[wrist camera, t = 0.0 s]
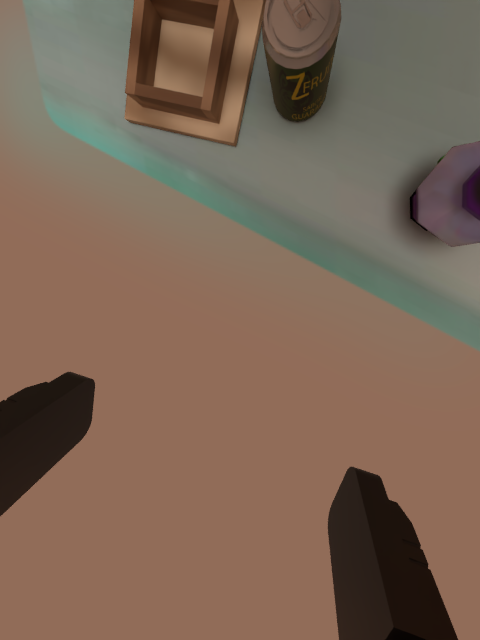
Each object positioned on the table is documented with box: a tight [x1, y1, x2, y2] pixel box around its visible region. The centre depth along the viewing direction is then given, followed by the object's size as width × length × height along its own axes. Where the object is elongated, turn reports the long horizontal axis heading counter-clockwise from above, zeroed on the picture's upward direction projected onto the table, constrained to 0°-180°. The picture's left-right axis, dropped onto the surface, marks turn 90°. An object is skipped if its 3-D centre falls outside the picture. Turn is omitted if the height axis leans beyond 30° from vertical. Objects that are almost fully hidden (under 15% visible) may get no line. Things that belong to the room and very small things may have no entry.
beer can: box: [262, 0, 341, 121], centre depth 25 cm, size 5×5×12 cm
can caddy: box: [125, 0, 266, 146], centre depth 29 cm, size 14×13×5 cm
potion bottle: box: [410, 141, 480, 247], centre depth 25 cm, size 9×9×12 cm
